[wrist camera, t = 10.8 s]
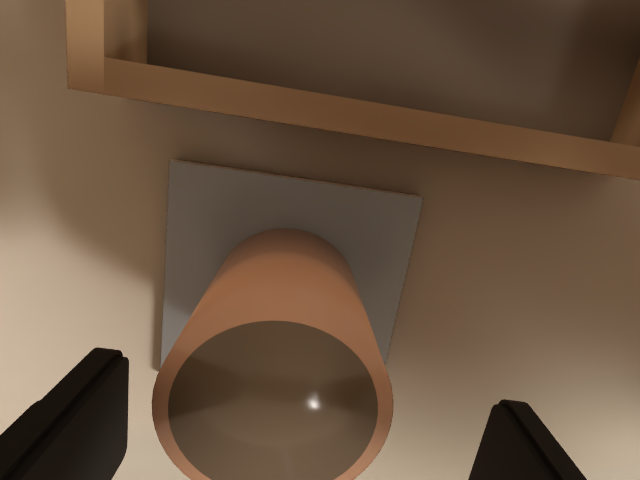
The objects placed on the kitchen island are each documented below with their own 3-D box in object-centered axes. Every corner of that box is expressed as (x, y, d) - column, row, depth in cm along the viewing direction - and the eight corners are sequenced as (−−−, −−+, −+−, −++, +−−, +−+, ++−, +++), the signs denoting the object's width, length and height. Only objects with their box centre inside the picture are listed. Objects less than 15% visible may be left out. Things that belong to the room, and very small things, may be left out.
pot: (343, 364, 17) (369, 515, 11) (209, 350, 17) (147, 498, 10) (367, 239, 16) (417, 322, 9) (220, 218, 15) (155, 290, 8)
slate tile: (373, 396, 19) (375, 404, 18) (164, 375, 18) (159, 383, 17) (419, 195, 16) (423, 197, 15) (174, 159, 15) (169, 160, 14)
